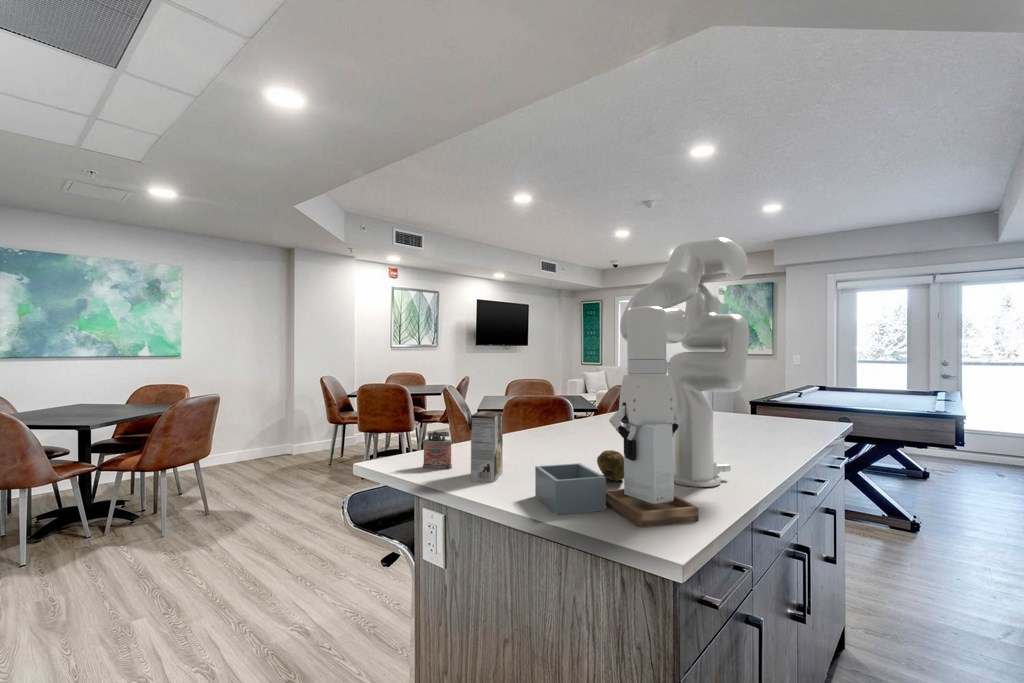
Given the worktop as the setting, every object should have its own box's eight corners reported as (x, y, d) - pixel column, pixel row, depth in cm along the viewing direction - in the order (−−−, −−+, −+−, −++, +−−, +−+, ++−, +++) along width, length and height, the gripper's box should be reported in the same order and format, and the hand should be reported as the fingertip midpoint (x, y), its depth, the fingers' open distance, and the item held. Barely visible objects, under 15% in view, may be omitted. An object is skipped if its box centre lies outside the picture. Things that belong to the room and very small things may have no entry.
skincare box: (674, 501, 92) (676, 424, 92) (652, 505, 89) (654, 426, 89) (641, 490, 99) (643, 419, 99) (620, 494, 96) (622, 420, 96)
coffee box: (479, 471, 125) (479, 410, 125) (503, 473, 124) (503, 411, 124) (469, 480, 116) (469, 414, 116) (495, 482, 115) (495, 415, 115)
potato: (635, 476, 120) (635, 445, 120) (622, 489, 108) (622, 454, 109) (603, 473, 124) (603, 442, 124) (587, 485, 112) (587, 451, 113)
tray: (654, 497, 102) (654, 486, 102) (698, 520, 88) (698, 507, 88) (601, 502, 99) (601, 490, 99) (638, 527, 85) (638, 513, 85)
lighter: (421, 468, 128) (421, 431, 129) (425, 465, 132) (425, 429, 132) (449, 469, 127) (449, 432, 127) (453, 466, 130) (453, 430, 131)
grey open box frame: (580, 492, 106) (580, 463, 107) (605, 510, 94) (605, 477, 94) (535, 496, 104) (535, 466, 104) (555, 515, 91) (555, 481, 92)
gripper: (673, 367, 100) (674, 451, 100) (598, 368, 96) (599, 456, 95) (696, 368, 93) (697, 459, 93) (616, 369, 89) (617, 465, 88)
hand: (647, 457), depth 94 cm, fingers closed on skincare box, 6 cm apart
